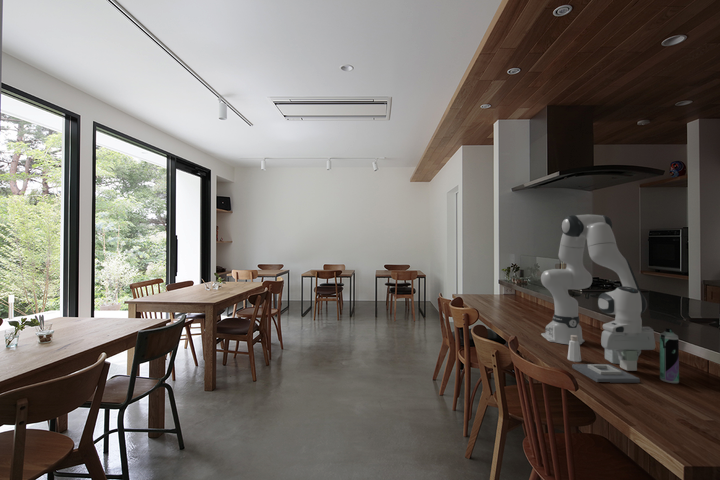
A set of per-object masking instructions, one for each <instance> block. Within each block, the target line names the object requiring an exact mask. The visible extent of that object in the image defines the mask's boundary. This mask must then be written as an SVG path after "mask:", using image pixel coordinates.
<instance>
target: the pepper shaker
mask: <svg viewBox="0 0 720 480" xmlns="http://www.w3.org/2000/svg"><path fill="white" fill-rule="evenodd" d="M580 346H581V344H579V342H578V336H576V335H571V340H570V341H569V345H568V350H567V351H568V352H567V360H568V361H570V362H577V363H579V362H582V356H581V355H582V353H581V347H580Z"/></svg>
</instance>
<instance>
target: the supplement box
mask: <svg viewBox="0 0 720 480" xmlns="http://www.w3.org/2000/svg"><path fill="white" fill-rule="evenodd" d="M604 360H606V361H608V362H610V364H617V365H620V360H619V359H618V354H617V352H616V351H615V350H608V349H605V348H604Z"/></svg>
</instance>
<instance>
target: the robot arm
mask: <svg viewBox="0 0 720 480" xmlns="http://www.w3.org/2000/svg"><path fill="white" fill-rule="evenodd" d="M560 227H561V231H562V235H561V238H560V243H559V249H558V254H557V256H558V259H559V261H561V262H562V263H564V264H566V265H565V266H566V267H565V268H552V269H551V268H550V269H547V270H544V271H542V273H541V275H540V282H541V284H542V286H543V287H545V289H546V290H548V291H549V293H550V294H551V296H552V298H553V303H554V304H553V305H554V313H553V314H552V320H551V321H550V322H549V323H548V324H546V326H545V328H544V330H545V332H542V333H541V334H540V335H541V336H542V337H543V338H544V339H545V340H547V341H548V342H551V343H557V344H562V345H568V346H569V341H570V340H571V335H576V336H578V342H579V345H582V344H583V343H584V342H585V339H583V331H582V329H583V328H582V326H581V325H580V316H579V301H578V300H577V299H576V298H575V297H572V296H571V295H570V294H569V290H582V289H583V290H584V289H588V288H590V287H591V285H592V283H593V276H592V274H591V272H589V271H588V270H587V269H586V267H585V265H584V251H585V246H586V244H587V250H588V254H589V255H588V256H589V258H590V259H591V260H592V262H593V263H595V264H596V265H599V266H601V267H603V268H607V269H609V270H611V271H613V272H614V273H616V274H617V276H618V277H619V281H620V283H621V286H618V287H616V288H615V289H614V290H612V291H605V292H602V293H601V294H599V296H598V298H597V307H598V309H599V310H600V311H601V312H602V313H604V314H607V315H615V317H614V320H611V321H609V322H606V323H603V324H602V328H603V329H602V330H603V331H602V332H601V337H600V343H601V347H602V348H603V349H604V350H605V349H608V350H615V351H616V352H617V354H618V359H619V360H625V356H623V355H622V353H621V352H622V350H636V351H637V361H639V356H640V355H641V354H642V351H653V350H655V348H656V339H655V335H654V334H655V332H654V329H653V327H650V326H643V325H642V324H643V321H642V317H641V316H642V314H643V313H644V312H645V311H646V310H647V308H648V302H647V300H646V297H645V296H644V294H643V293H642V291H641V288H640V287H639V283H638V280H637V278H636V276H635V274H634V271H633V269H632V266H631V264H630V262H629V260H628V259H627V257H624V256H623V255H622V253H621V252H620V250H619V248H618V245H617V242H616V241H617V240H616V236H615V234H614V231H613V221H612V219H611V218H610V217H609V216H607V215H605V214H604V215H603V214H588V213H587V214H576V215H575V214H572V215H567V216H565V217H564V218H563V219H562V221H561V225H560Z"/></svg>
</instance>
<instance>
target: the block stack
mask: <svg viewBox="0 0 720 480" xmlns="http://www.w3.org/2000/svg"><path fill="white" fill-rule="evenodd" d="M621 353H622V355H623V356H625V360H620V364H619V368H621V369H623V370H624V371H627V372H628V371H632V372H633V371H638V360H637V351H636V350H622V352H621Z"/></svg>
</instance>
